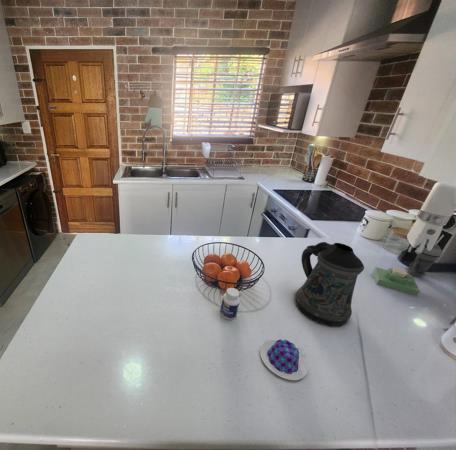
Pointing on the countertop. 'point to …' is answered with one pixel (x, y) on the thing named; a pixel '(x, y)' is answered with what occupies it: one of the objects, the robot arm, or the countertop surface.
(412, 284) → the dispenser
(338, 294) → the beer stein
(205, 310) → the countertop surface
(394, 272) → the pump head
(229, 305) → the pill bottle
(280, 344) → the pudding
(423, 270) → the beverage cup
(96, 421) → the countertop surface
